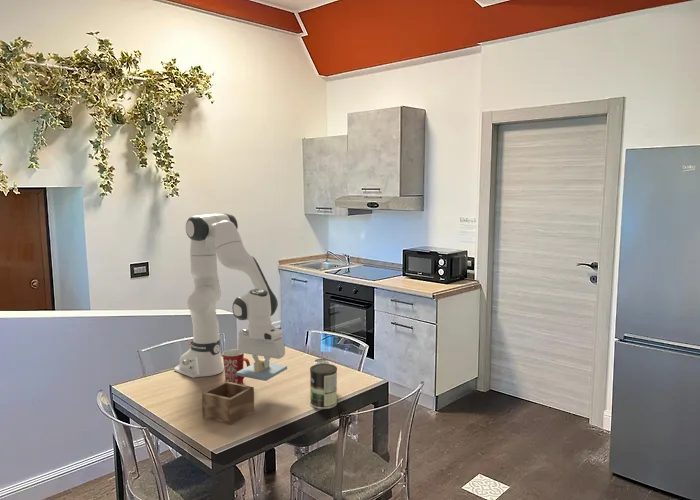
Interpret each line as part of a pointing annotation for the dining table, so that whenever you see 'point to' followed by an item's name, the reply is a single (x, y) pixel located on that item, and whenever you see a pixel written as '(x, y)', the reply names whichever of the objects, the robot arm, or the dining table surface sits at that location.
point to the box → (228, 402)
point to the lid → (261, 370)
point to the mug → (233, 365)
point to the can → (321, 361)
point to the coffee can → (323, 386)
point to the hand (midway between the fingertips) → (261, 366)
